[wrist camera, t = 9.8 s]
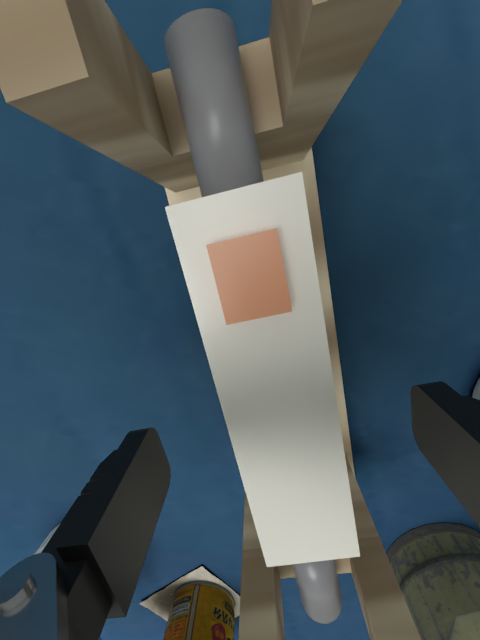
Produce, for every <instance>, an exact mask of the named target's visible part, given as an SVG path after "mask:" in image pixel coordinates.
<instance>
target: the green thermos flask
mask: <svg viewBox="0 0 480 640" xmlns="http://www.w3.org/2000/svg"><path fill="white" fill-rule="evenodd" d="M386 555H387V557H388V560H389V562H390V564H391V567H392V569H393V572H394V574H395V577H396V579H397V582H398V584H399V586H400V589H401V591H402V594H403V596H404V599H405V601H406V604H407V606H408V608H409V611H410V613H411V616H412V618H413V621H414V623H415V626H416V628H417V630H418V633H419V635H420V638H421V640H480V533H479V532H478V531H476V530H474V529H471V528H469V527H466V526H464V525H460V524H452V523H437V524H427V525H424V526H421V527H418V528H415V529H412V530H410V531H408V532H407V533H405V534H404V535H402V536H400V537H399V538H397V540H396V541H395V542H394V543H393V544H392V545H391V546H390V548H389V549H388V552H387V554H386Z"/></svg>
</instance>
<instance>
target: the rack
mask: <svg viewBox="0 0 480 640" xmlns="http://www.w3.org/2000/svg"><path fill="white" fill-rule="evenodd" d="M402 1H403V0H272V4H271V19H270V34H269V37H268V38H265V39H261V40H258V41H255V42H252V43H248V44H245V45H242V46H239V52H240V57H241V63H242V68H243V73H244V79H245V84H246V89H247V95H248V100H249V105H250V111H251V116H252V121H253V127H254V132H255V137H256V143H257V148H258V153H259V159H260V164H261V169H262V175H263V180H264V181H268V180H271V179H275V178H279V177H283V176H287V175H291V174H295V173H299V172H302V175H303V181H304V188H305V195H306V201H307V208H308V215H309V221H310V228H311V234H312V241H313V248H314V254H315V261H316V267H317V274H318V281H319V287H320V294H321V300H322V307H323V314H324V320H325V327H326V333H327V340H328V347H329V353H330V360H331V366H332V373H333V380H334V386H335V393H336V399H337V406H338V413H339V419H340V426H341V433H342V439H343V446H344V452H345V459H346V466H347V472H348V479H349V485H350V492H351V499H352V505H353V512H354V518H355V525H356V532H357V538H358V545H359V551H360V557H352V558H343V559H335V564H336V570H337V574H340V573H352V576H353V579H354V583H355V586H356V590H357V594H358V597H359V601H360V604H361V608H362V611H363V615H364V618H365V622H366V625H367V629H368V632H369V636H370V639H371V640H421V638H420V635H419V633H418V630H417V628H416V626H415V623H414V621H413V618H412V616H411V613H410V611H409V608H408V606H407V604H406V601H405V599H404V596H403V594H402V591H401V589H400V586H399V584H398V582H397V579H396V577H395V574H394V572H393V569H392V567H391V564H390V562H389V560H388V557H387V555H386V552H385V550H384V547H383V545H382V542H381V540H380V537H379V535H378V533H377V530H376V528H375V525H374V523H373V520H372V518H371V515H370V513H369V511H368V508H367V506H366V503H365V501H364V498H363V496H362V493H361V491H360V489H359V486H358V484H357V481H356V479H355V473H354V465H353V458H352V450H351V443H350V435H349V427H348V420H347V412H346V404H345V397H344V389H343V382H342V374H341V366H340V359H339V351H338V343H337V336H336V328H335V321H334V313H333V305H332V298H331V290H330V282H329V275H328V267H327V260H326V252H325V244H324V237H323V229H322V221H321V214H320V206H319V199H318V191H317V183H316V176H315V168H314V160H313V153H312V145H313V144H314V142H315V140H316V139H317V137H318V136H319V134H320V132H321V131H322V129H323V128H324V126H325V124H326V123H327V121H328V120H329V118H330V116H331V115H332V113H333V112H334V110H335V108H336V107H337V105H338V104H339V102H340V100H341V99H342V97H343V96H344V94H345V92H346V91H347V89H348V87H349V86H350V84H351V83H352V81H353V79H354V78H355V76H356V75H357V73H358V71H359V70H360V68H361V67H362V65H363V63H364V62H365V60H366V59H367V57H368V55H369V54H370V52H371V51H372V49H373V47H374V46H375V44H376V43H377V41H378V39H379V38H380V36H381V35H382V33H383V31H384V30H385V28H386V26H387V25H388V23H389V22H390V20H391V18H392V17H393V15H394V14H395V12H396V10H397V9H398V7H399V6H400V4H401V2H402ZM0 88H1V91H2V93H3V96H4V98H5V101H6V103H8V104H9V105H11V106H13V107H15V108H17V109H19V110H21V111H23V112H25V113H26V114H28V115H30V116H32V117H34V118H36V119H38V120H40V121H41V122H43V123H45V124H47V125H49V126H51V127H53V128H55V129H57V130H58V131H60V132H62V133H64V134H66V135H68V136H70V137H72V138H73V139H75V140H77V141H79V142H81V143H83V144H85V145H87V146H88V147H90V148H92V149H94V150H96V151H98V152H100V153H102V154H104V155H105V156H107V157H109V158H111V159H113V160H115V161H117V162H119V163H120V164H122V165H124V166H126V167H128V168H130V169H132V170H134V171H136V172H137V173H139V174H141V175H143V176H145V177H147V178H149V179H151V180H152V181H154V182H156V183H158V184H160V185H162V186H164V187H165V191H166V194H167V198H168V202H169V205H170V206H171V205H175V204H178V203H182V202H186V201H190V200H194V199H198V198H202V196H201V191H200V187H199V183H198V179H197V175H196V171H195V167H194V163H193V159H192V155H191V151H190V147H189V143H188V139H187V135H186V131H185V127H184V123H183V119H182V114H181V110H180V106H179V102H178V98H177V94H176V90H175V86H174V82H173V78H172V74H171V70H170V68H168V69H165V70H161V71H158V72H155V73H152V74H151V72H150V70H149V69H148V67H147V66H146V64H145V63H144V61H143V60H142V58H141V57H140V55H139V53H138V52H137V50H136V49H135V47H134V46H133V44H132V43H131V41H130V39H129V38H128V36H127V35H126V33H125V32H124V30H123V29H122V27H121V26H120V24H119V22H118V21H117V19H116V18H115V16H114V15H113V13H112V12H111V10H110V9H109V7H108V5H107V4H106V2H105V1H104V0H0ZM293 577H295V573H294V568H293V564H291V565H282V566H273V567H267V566H266V563H265V559H264V556H263V552H262V549H261V545H260V541H259V538H258V534H257V531H256V527H255V524H254V520H253V517H252V513H251V510H250V506H249V503H248V499H247V496H246V492H245V504H244V527H243V550H242V573H241V596H240V619H239V640H285V635H284V621H283V607H282V593H281V579H282V578H293Z"/></svg>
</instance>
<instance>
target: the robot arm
mask: <svg viewBox="0 0 480 640" xmlns="http://www.w3.org/2000/svg"><path fill="white" fill-rule="evenodd" d="M411 411H412V429H413V434H414V438H415V440H416V443H417V445H418V447H419V449H420V450H421V452H422V453H423V455H424V456H425V457H426V459H427V460H428V461H429V462H430V464H431V465H432V466H433V468H434V469H435V470H436V472H437V473H438V474H439V475H440V477H441V478H442V479H443V481H444V482H445V483H446V484H447V486H448V487H449V488H450V490H451V491H452V492H453V494H454V495H455V496H456V497H457V499H458V500H459V501H460V503H461V504H462V505H463V507H464V508H465V509H466V510H467V512H468V513H469V514H470V516H471V517H472V518H473V520H474V521H475V522H476V523H477V525H478V526H479V527H480V400H478V399H475V398H473V397H470V396H463V397H462V396H461V395H460V394H458V393H457V392H456V391H455V390H453V389H452V388H451V387H449V386H448V385H447V384H446V383H444V382H441V381H439V382H433V383H427V384H421V385H415V386H412V388H411ZM170 476H171V474H170V466H169V462H168V460H167V457H166V454H165V451H164V449H163V446H162V443H161V441H160V438H159V435H158V433H157V431H156V429H155V428H147V429H141V430H135V431H130V432H129V433H128V434H127V435H126V437H125V438H124V440H123V442H122V443H121V445H120V446H119V448H118V450H114V451H113V452H112V453H111V454H110V455H109V456H108V457H107V458H106V459H105V460H104V461H103V462H102V463H100V465H99V466H98V468H97V469H96V471H95V472H94V474H93V475H92V477H91V478H90V482H88V483H87V484H86V486H85V487H84V489H83V490H82V492H81V496H78V498H77V499H76V501H75V502H74V504H73V505H72V507H71V508H70V510H69V511H68V513H67V514H66V516H65V517H64V519H63V520H62V522H61V523H60V525H59V526H58V528H57V529H56V531H55V532H54V534H53V535H52V537H51V538H50V540H49V541H48V543H47V544H46V546H45V547H44V549H43V550H42V552H41V553H38V554H35V555H32V556H30V557H28V558H26V559H24V560H22V561H20V562H19V563H17V564H16V565H14V566H13V567H12V568H11V569H9V570H8V571H7V572H6V573H5V574H3V575H2V576H1V577H0V640H102V639H101V637H100V634H101V632H102V629H103V627H104V624H105V621H106V619H108V618H119V617H126V615H127V612H128V609H129V606H130V603H131V599H132V596H133V593H134V590H135V587H136V584H137V581H138V578H139V575H140V572H141V569H142V566H143V563H144V560H145V557H146V554H147V551H148V548H149V545H150V542H151V539H152V536H153V533H154V530H155V527H156V524H157V521H158V518H159V515H160V512H161V509H162V506H163V503H164V500H165V497H166V494H167V491H168V488H169V485H170Z"/></svg>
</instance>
